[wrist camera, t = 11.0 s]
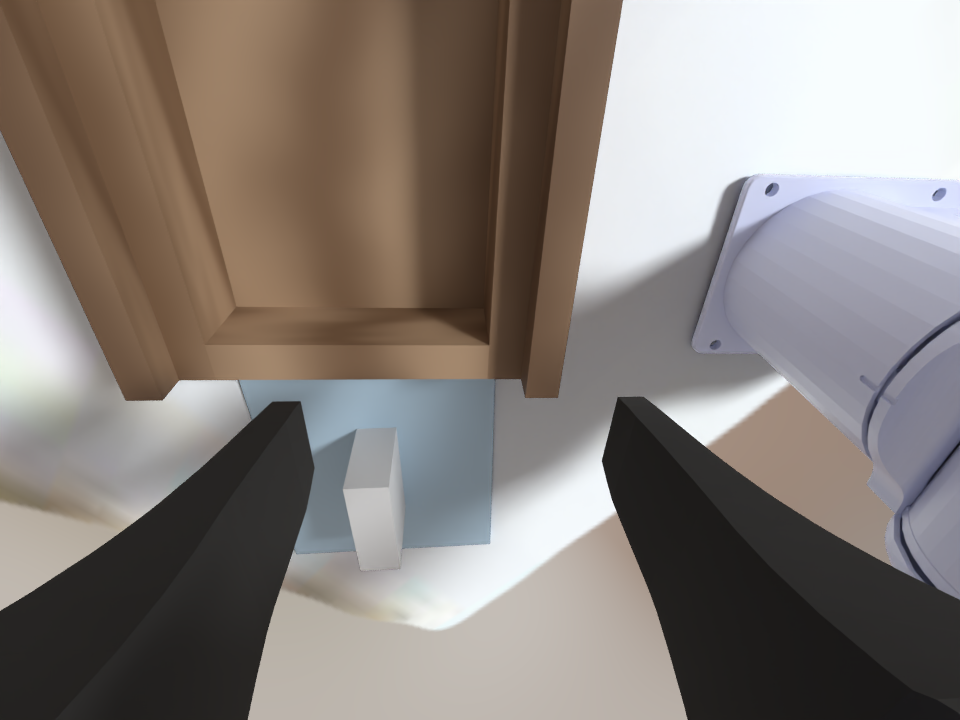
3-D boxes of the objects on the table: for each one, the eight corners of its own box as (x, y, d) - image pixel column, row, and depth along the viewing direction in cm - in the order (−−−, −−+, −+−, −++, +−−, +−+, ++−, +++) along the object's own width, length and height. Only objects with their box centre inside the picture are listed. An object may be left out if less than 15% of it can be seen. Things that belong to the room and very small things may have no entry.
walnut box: (595, -183, 13) (673, -306, 9) (534, 328, 22) (557, 397, 17) (8, -235, 12) (-249, -406, 7) (194, 326, 20) (126, 400, 16)
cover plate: (493, 351, 23) (504, 414, 19) (489, 533, 30) (496, 605, 26) (241, 358, 22) (196, 425, 18) (299, 542, 30) (277, 619, 26)
